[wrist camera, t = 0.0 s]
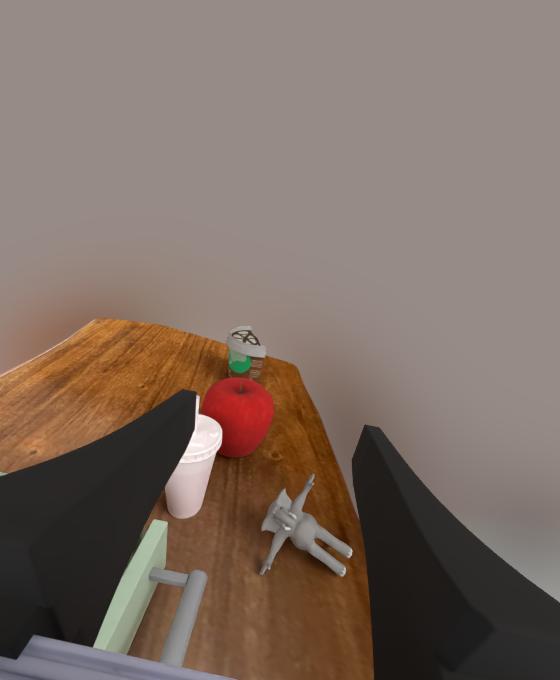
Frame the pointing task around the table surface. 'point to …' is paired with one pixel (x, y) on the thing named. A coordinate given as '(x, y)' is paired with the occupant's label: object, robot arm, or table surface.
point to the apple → (239, 414)
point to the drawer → (137, 595)
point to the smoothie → (194, 468)
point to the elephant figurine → (300, 531)
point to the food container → (244, 354)
